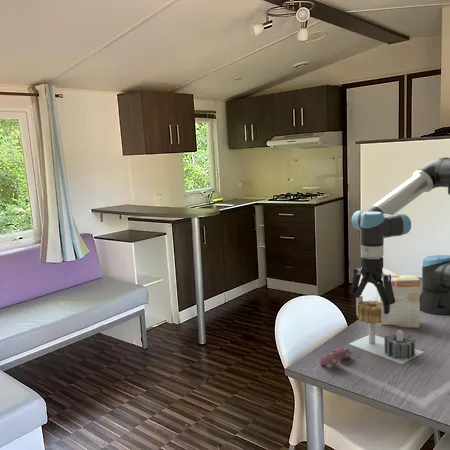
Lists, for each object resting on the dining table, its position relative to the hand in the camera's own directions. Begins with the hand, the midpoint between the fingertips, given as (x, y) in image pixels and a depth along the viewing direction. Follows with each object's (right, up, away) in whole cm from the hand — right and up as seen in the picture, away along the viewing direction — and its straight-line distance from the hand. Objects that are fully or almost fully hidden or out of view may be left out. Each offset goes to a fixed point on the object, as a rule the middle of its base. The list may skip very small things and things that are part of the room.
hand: (371, 318), depth 161 cm
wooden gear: (0, 0, 0) cm, 0 cm away
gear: (+7, -10, -7) cm, 14 cm away
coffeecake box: (+17, -7, +20) cm, 27 cm away
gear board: (+4, -11, -3) cm, 12 cm away
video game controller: (-15, -14, -9) cm, 22 cm away
